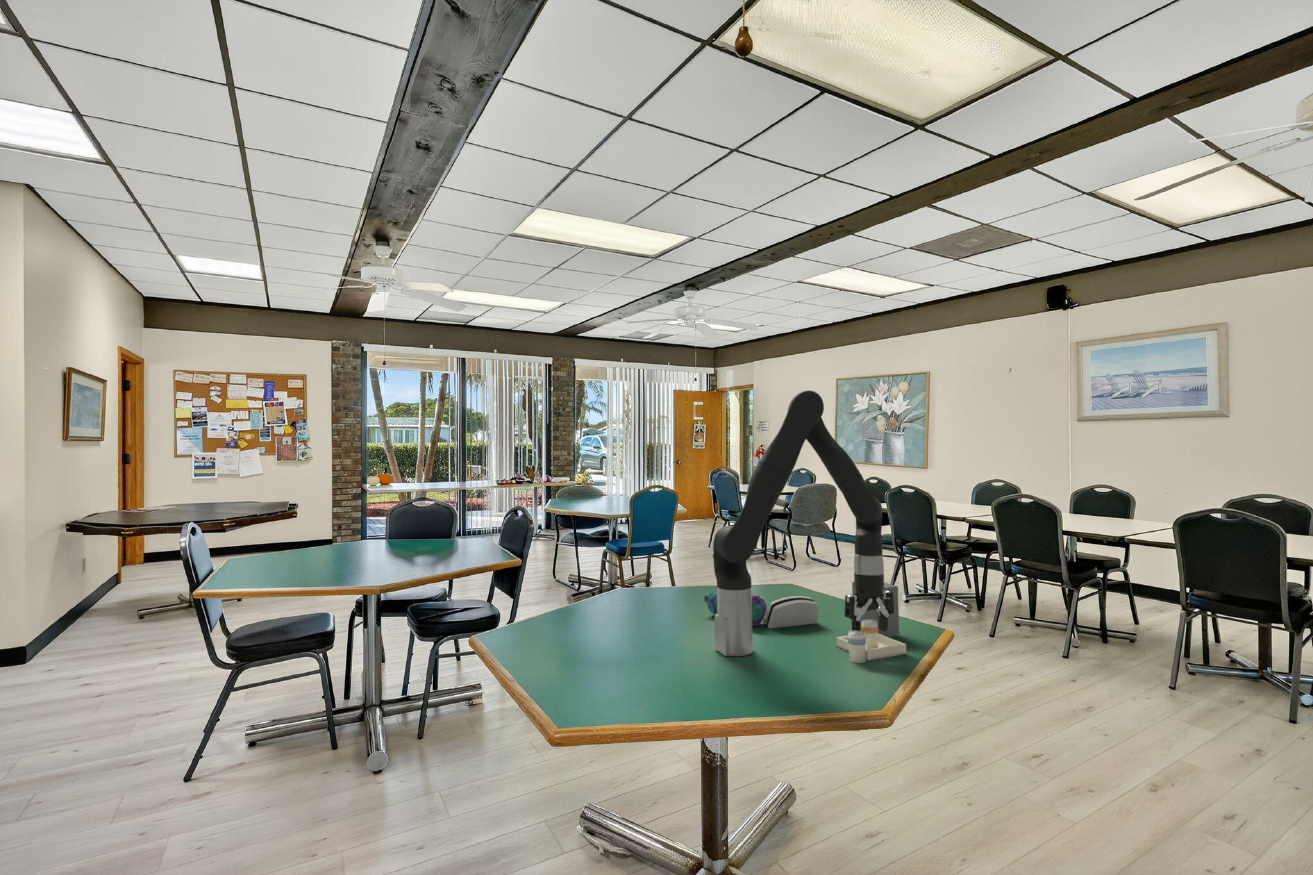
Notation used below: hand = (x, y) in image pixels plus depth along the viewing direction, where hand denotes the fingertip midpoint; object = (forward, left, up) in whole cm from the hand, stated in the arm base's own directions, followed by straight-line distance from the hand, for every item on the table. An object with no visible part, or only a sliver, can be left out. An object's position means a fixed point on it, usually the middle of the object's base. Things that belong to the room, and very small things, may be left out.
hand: (869, 632), depth 163 cm
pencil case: (-18, +41, -5) cm, 45 cm away
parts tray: (0, 0, -5) cm, 5 cm away
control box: (+12, +12, -5) cm, 18 cm away
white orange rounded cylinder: (0, 0, -4) cm, 4 cm away
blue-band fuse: (-8, -5, -5) cm, 10 cm away
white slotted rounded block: (-5, +29, -5) cm, 30 cm away
